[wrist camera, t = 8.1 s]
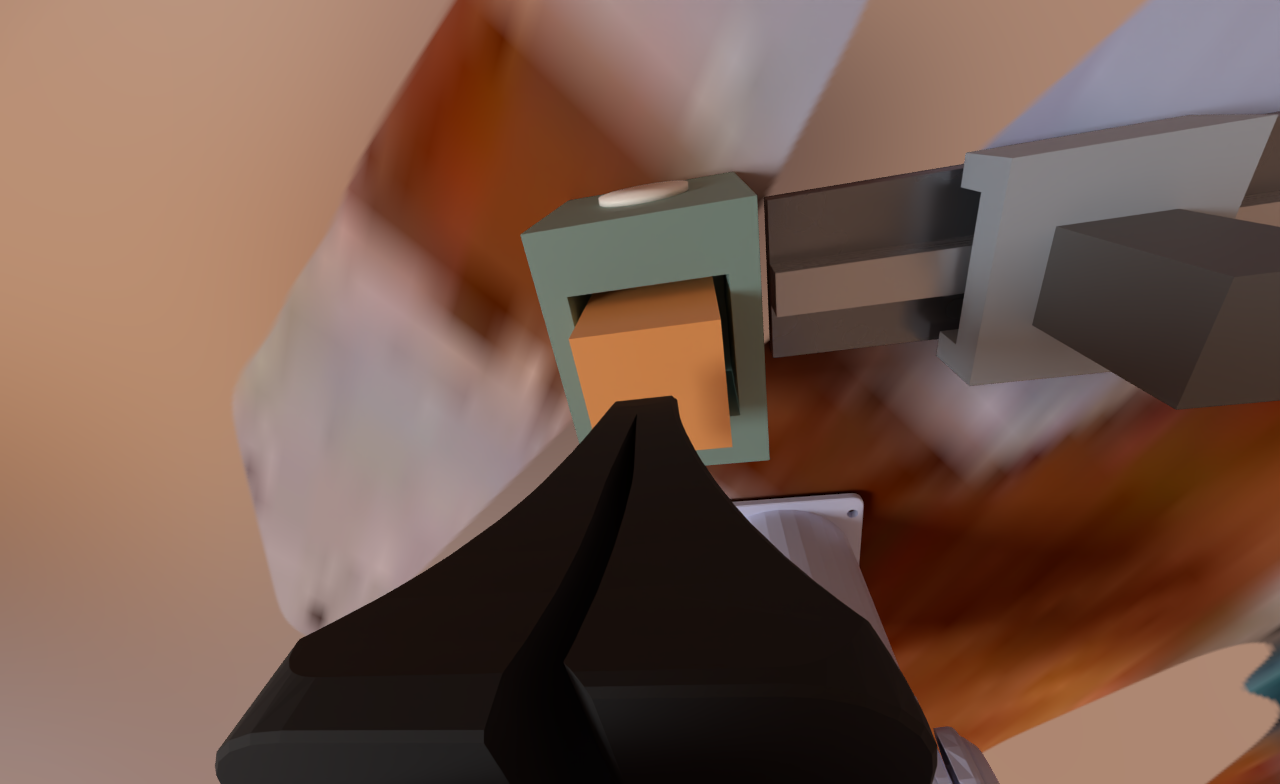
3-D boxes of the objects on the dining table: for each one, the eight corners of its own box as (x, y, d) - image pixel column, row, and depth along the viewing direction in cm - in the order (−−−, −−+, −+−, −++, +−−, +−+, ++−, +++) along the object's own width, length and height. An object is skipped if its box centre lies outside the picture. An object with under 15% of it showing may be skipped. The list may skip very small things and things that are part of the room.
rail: (1453, 268, 16) (1544, 285, 15) (770, 349, 20) (778, 371, 18) (1590, 60, 14) (1725, 51, 12) (763, 197, 17) (773, 205, 15)
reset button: (722, 383, 16) (732, 446, 13) (615, 395, 16) (600, 459, 13) (712, 275, 14) (720, 319, 11) (592, 293, 14) (568, 339, 11)
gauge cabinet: (747, 373, 20) (769, 460, 15) (611, 388, 21) (588, 475, 16) (733, 165, 16) (756, 186, 11) (567, 194, 17) (518, 226, 12)
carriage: (1114, 335, 17) (1370, 463, 11) (936, 355, 18) (1075, 484, 12) (1189, 115, 14) (1625, 110, 7) (965, 152, 15) (1183, 178, 8)
